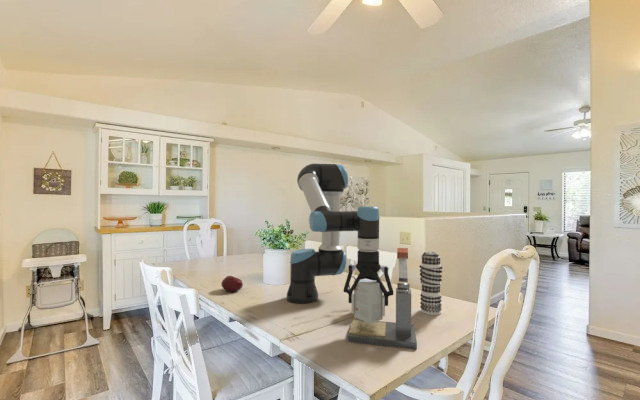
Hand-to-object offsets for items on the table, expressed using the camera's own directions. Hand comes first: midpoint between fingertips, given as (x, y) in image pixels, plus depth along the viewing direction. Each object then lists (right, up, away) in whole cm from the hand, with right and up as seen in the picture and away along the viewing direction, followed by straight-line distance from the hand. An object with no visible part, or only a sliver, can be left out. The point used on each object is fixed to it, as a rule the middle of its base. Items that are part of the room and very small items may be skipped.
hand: (368, 313), depth 114 cm
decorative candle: (+30, -8, +24) cm, 39 cm away
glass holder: (+1, -8, +26) cm, 27 cm away
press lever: (+14, +13, +6) cm, 20 cm away
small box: (0, -2, 0) cm, 2 cm away
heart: (-63, -8, +54) cm, 84 cm away
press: (+5, -7, -1) cm, 9 cm away
